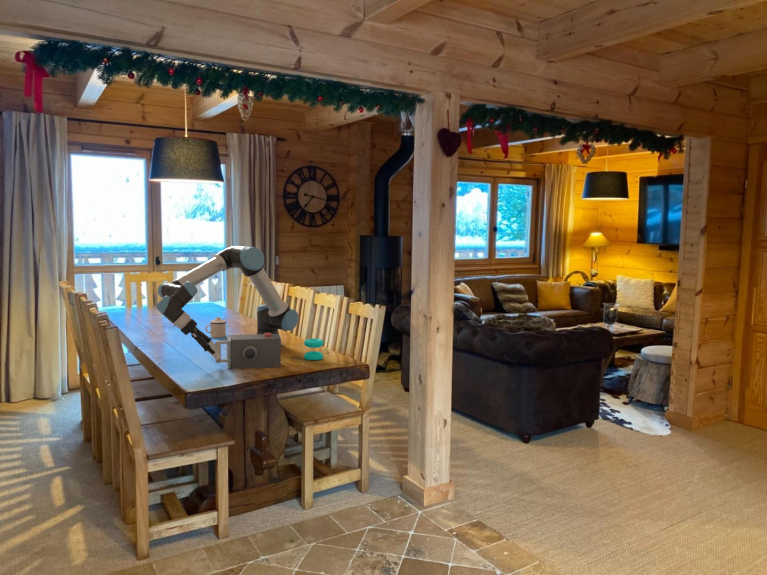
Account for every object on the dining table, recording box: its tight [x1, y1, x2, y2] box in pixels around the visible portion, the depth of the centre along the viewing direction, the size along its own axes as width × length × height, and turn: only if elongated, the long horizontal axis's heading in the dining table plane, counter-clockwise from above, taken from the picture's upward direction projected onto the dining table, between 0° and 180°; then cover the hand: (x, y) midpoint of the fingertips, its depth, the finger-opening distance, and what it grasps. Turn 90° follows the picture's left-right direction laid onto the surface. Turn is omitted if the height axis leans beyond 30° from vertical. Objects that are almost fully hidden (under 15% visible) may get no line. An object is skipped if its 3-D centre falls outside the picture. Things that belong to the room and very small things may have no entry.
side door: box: [214, 335, 231, 369], centre depth 293 cm, size 13×7×13 cm, turn 16°
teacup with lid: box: [205, 316, 227, 339], centre depth 362 cm, size 12×9×12 cm
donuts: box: [303, 338, 325, 361], centre depth 312 cm, size 10×10×10 cm
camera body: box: [230, 333, 282, 370], centre depth 295 cm, size 14×23×15 cm, turn 106°
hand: (219, 354), depth 288 cm, fingers open, 13 cm apart
